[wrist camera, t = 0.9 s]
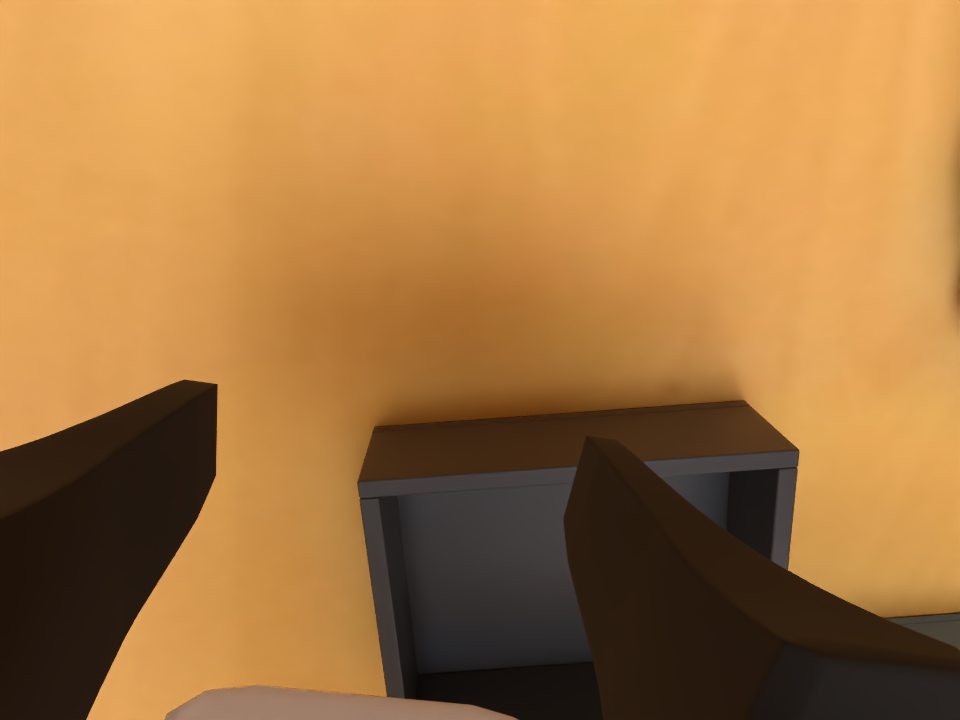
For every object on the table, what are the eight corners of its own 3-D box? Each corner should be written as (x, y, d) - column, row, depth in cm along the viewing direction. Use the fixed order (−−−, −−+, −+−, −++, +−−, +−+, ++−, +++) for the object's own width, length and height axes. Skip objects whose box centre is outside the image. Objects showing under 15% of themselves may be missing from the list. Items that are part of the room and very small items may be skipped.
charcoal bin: (727, 653, 27) (772, 738, 23) (405, 677, 27) (396, 766, 23) (744, 399, 23) (800, 449, 19) (373, 426, 23) (356, 481, 19)
